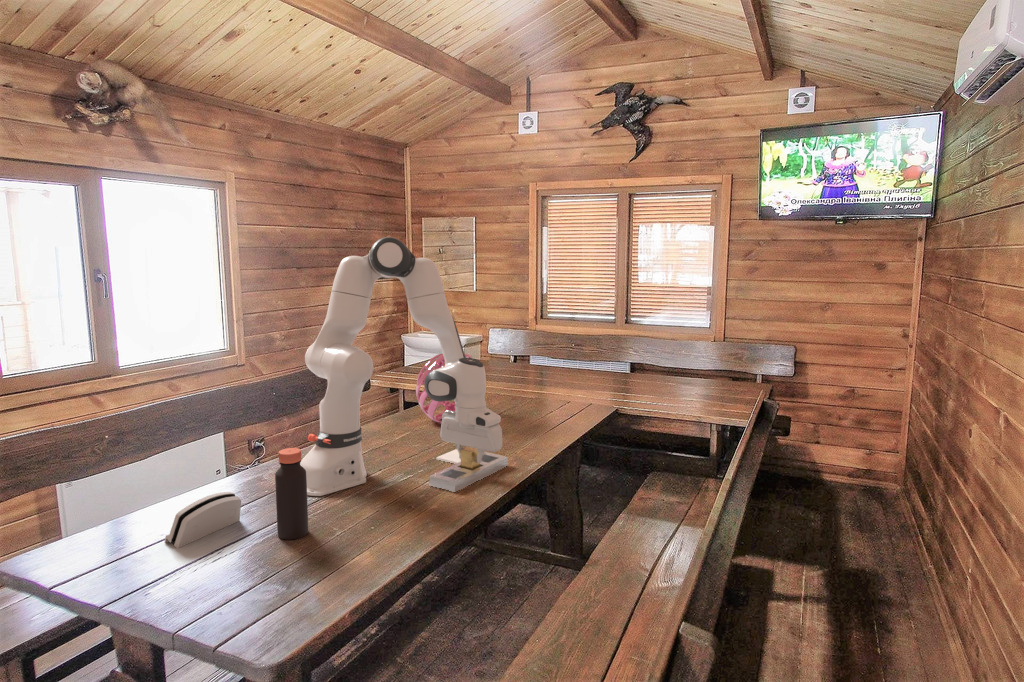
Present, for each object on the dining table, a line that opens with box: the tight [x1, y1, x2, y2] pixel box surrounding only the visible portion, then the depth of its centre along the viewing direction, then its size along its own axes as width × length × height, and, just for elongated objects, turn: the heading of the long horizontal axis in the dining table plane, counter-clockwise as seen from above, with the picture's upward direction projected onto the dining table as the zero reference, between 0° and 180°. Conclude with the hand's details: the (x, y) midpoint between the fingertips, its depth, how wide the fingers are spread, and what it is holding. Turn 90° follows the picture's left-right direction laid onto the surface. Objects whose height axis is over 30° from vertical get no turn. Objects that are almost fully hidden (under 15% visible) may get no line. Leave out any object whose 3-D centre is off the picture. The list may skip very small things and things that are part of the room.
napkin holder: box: [164, 491, 242, 549], centre depth 150 cm, size 17×5×10 cm, turn 152°
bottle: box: [274, 447, 309, 541], centre depth 149 cm, size 7×7×20 cm
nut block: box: [461, 446, 480, 471], centre depth 189 cm, size 4×4×8 cm
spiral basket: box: [415, 352, 473, 425], centre depth 245 cm, size 28×28×27 cm
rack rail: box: [429, 451, 509, 493], centre depth 189 cm, size 26×9×3 cm, turn 147°
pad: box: [435, 448, 461, 465], centre depth 204 cm, size 10×10×1 cm
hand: (470, 460), depth 189 cm, fingers closed on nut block, 4 cm apart
